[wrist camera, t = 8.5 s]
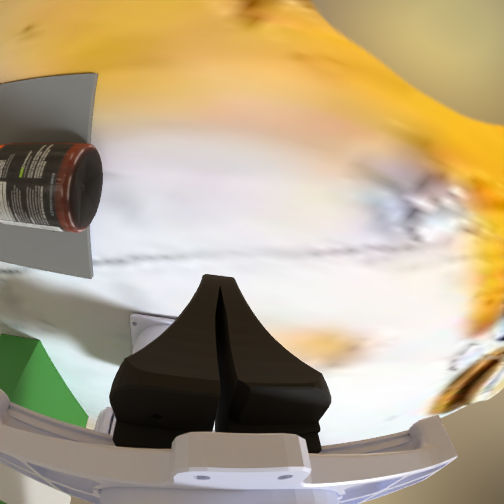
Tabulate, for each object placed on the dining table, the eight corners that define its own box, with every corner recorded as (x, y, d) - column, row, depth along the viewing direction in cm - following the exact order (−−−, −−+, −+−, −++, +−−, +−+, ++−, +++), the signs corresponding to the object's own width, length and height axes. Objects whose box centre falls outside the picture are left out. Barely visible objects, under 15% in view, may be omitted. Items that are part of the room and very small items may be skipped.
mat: (93, 275, 24) (91, 278, 23) (-18, 253, 21) (-21, 256, 21) (98, 73, 16) (94, 73, 15) (-29, 91, 13) (-33, 92, 13)
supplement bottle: (109, 194, 21) (6, 185, 19) (102, 126, 16) (-10, 129, 14) (81, 254, 17) (-27, 234, 15) (60, 182, 13) (-54, 176, 11)
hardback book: (88, 416, 36) (64, 546, 15) (52, 408, 35) (23, 528, 14) (39, 339, 27) (-24, 512, 6) (1, 333, 27) (-64, 480, 6)
